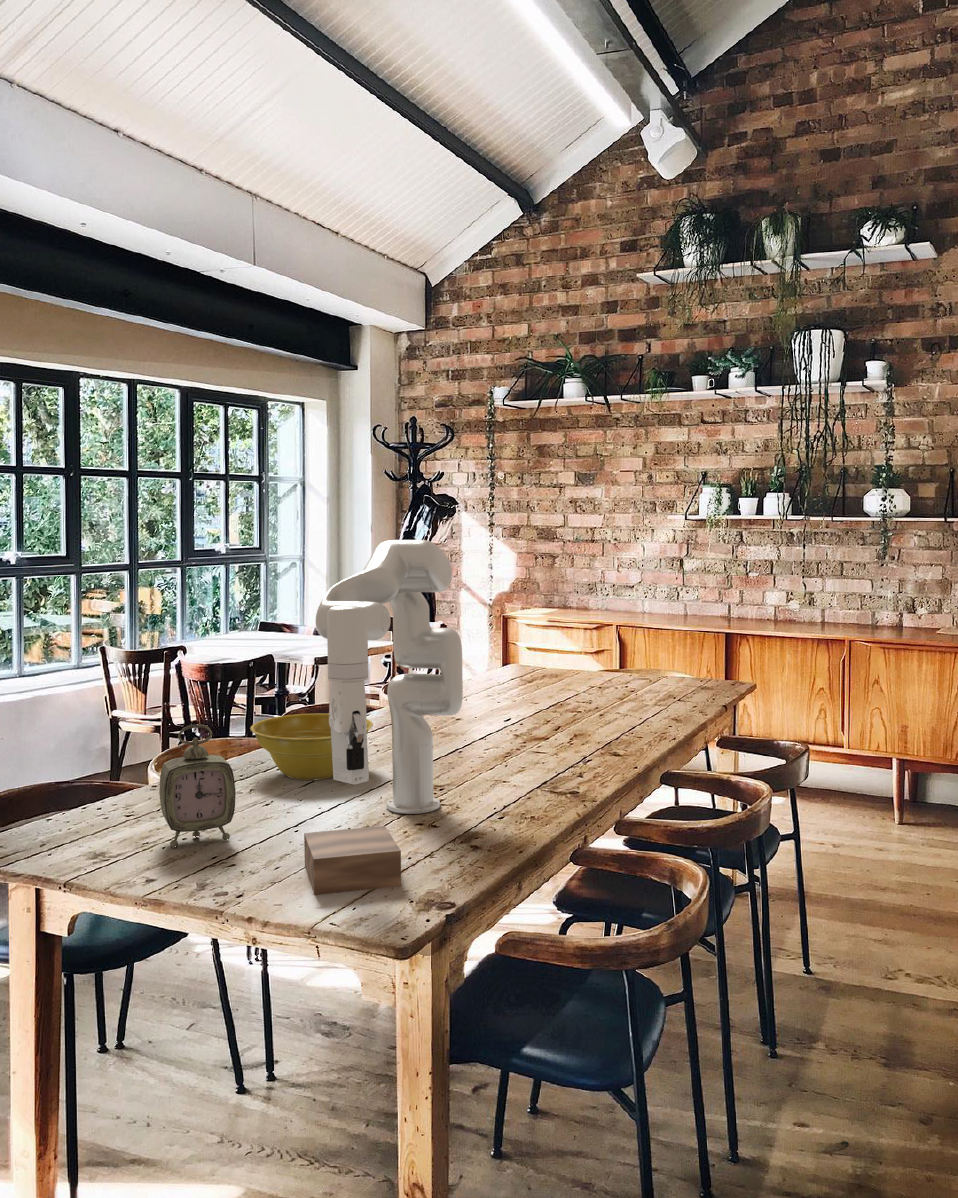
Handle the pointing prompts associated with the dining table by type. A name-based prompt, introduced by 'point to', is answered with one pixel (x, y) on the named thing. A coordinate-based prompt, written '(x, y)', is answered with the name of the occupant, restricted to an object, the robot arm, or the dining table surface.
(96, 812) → the dining table surface
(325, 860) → the walnut block
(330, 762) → the planter bowl
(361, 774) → the skincare box
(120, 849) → the dining table surface
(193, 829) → the tabletop clock
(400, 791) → the robot arm
